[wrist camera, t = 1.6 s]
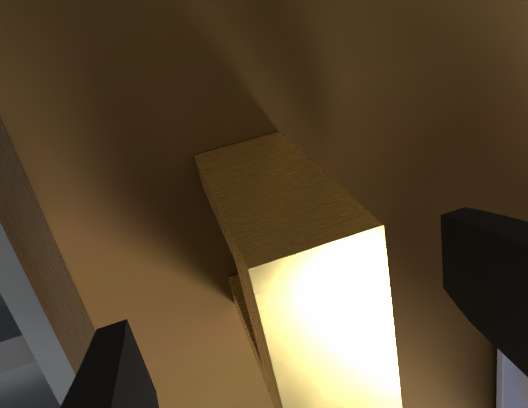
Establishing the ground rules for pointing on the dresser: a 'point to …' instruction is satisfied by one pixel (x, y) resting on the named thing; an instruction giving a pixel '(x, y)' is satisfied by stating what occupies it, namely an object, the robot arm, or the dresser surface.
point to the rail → (34, 299)
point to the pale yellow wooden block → (305, 276)
